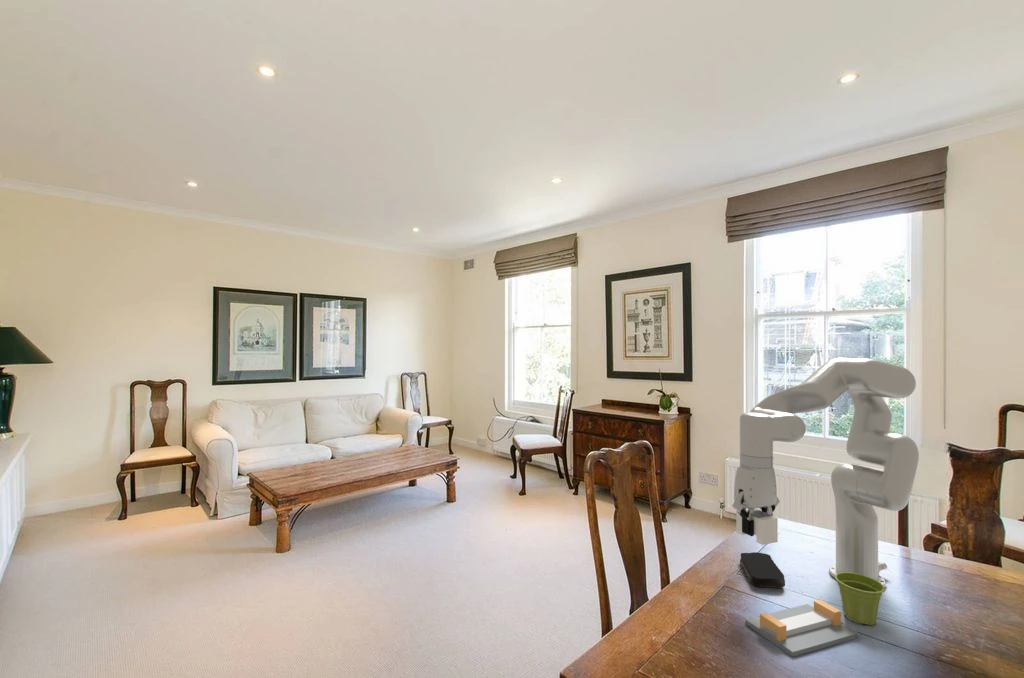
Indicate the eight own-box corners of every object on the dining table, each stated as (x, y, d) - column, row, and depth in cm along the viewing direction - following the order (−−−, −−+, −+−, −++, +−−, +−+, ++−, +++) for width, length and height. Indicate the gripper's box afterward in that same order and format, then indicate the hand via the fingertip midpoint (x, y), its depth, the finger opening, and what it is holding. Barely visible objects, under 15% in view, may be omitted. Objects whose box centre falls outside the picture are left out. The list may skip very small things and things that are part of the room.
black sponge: (787, 593, 119) (787, 579, 119) (752, 589, 121) (752, 575, 121) (768, 565, 135) (768, 552, 135) (737, 561, 137) (737, 549, 137)
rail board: (807, 608, 112) (807, 591, 112) (858, 637, 100) (858, 619, 100) (745, 623, 105) (745, 606, 105) (792, 656, 94) (792, 637, 94)
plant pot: (872, 634, 101) (872, 595, 102) (827, 612, 110) (827, 576, 110) (892, 623, 106) (892, 586, 106) (847, 603, 114) (847, 568, 114)
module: (750, 529, 120) (750, 506, 120) (777, 542, 113) (777, 517, 113) (736, 532, 119) (736, 508, 119) (762, 544, 111) (762, 519, 111)
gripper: (768, 455, 122) (768, 523, 122) (718, 460, 117) (719, 531, 116) (793, 462, 115) (794, 534, 115) (742, 467, 110) (742, 543, 109)
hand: (756, 531), depth 116 cm, fingers closed on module, 5 cm apart
